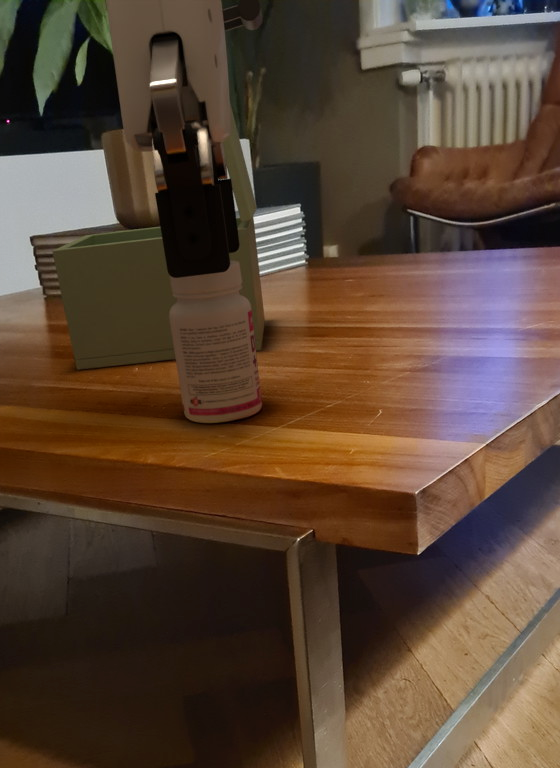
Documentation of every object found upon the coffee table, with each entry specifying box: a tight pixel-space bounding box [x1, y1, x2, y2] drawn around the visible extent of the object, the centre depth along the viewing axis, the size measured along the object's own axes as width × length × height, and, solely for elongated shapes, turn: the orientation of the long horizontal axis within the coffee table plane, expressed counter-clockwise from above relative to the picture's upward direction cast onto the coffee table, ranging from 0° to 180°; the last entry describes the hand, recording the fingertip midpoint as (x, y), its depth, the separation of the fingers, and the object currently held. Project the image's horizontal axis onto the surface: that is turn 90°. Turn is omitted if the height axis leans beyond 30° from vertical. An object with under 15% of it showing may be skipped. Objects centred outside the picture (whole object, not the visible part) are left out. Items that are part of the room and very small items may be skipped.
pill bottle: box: [169, 261, 263, 424], centre depth 53 cm, size 5×5×8 cm
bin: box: [51, 216, 266, 371], centre depth 75 cm, size 15×13×9 cm
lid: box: [222, 0, 264, 222], centre depth 69 cm, size 15×13×5 cm
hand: (207, 263), depth 51 cm, fingers open, 9 cm apart
